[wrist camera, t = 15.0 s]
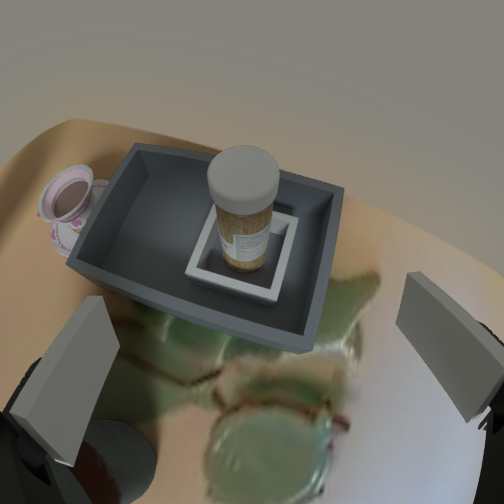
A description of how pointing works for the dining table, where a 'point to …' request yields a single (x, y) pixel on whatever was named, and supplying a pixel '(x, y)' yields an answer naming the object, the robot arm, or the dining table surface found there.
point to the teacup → (69, 204)
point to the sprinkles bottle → (244, 203)
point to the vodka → (107, 466)
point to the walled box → (210, 249)
